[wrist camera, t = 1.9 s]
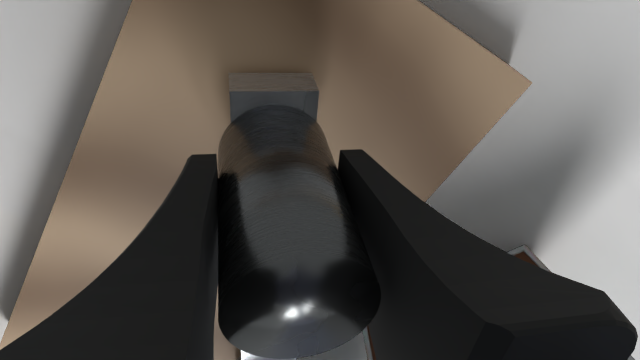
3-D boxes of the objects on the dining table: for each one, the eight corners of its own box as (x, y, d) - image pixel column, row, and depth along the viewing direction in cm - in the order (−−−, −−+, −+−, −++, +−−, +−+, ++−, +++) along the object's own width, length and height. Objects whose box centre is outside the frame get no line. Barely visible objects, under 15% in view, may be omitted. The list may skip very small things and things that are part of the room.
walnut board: (253, 364, 25) (255, 390, 24) (9, 323, 19) (-4, 354, 18) (509, 65, 16) (532, 83, 15) (195, -159, 11) (193, -158, 10)
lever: (297, 374, 23) (321, 535, 18) (234, 382, 22) (239, 552, 17) (325, 72, 13) (398, 231, 8) (214, 72, 12) (211, 244, 7)
